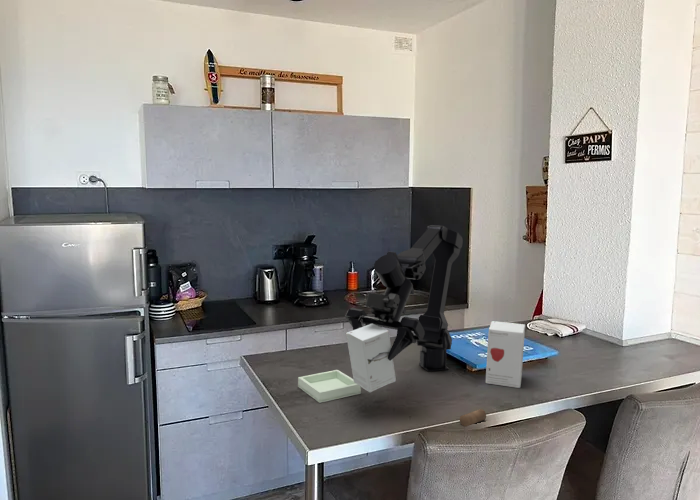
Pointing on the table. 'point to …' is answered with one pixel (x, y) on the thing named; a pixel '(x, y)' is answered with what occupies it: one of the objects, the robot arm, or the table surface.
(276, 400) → the table surface
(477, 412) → the walnut lock pin
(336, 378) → the dock tray
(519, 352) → the supplement box
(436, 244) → the robot arm
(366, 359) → the supplement box
